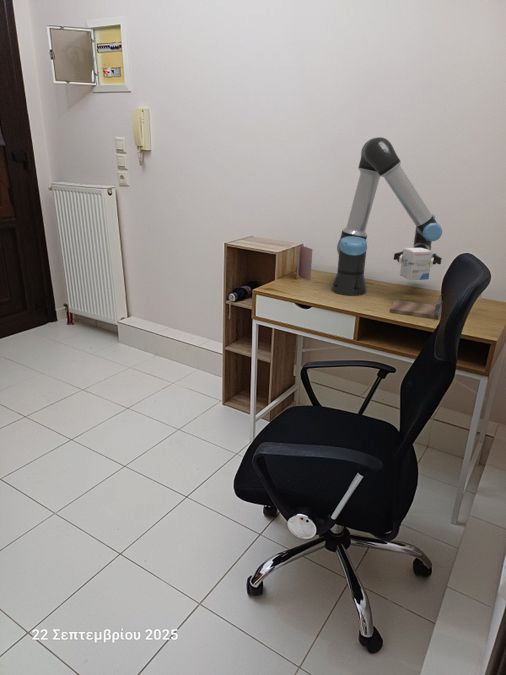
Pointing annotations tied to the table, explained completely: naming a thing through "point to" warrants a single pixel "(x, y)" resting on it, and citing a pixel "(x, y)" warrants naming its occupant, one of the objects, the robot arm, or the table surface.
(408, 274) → the ink box
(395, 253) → the robot arm
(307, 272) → the greeting card
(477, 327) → the table surface
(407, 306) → the walnut stand
